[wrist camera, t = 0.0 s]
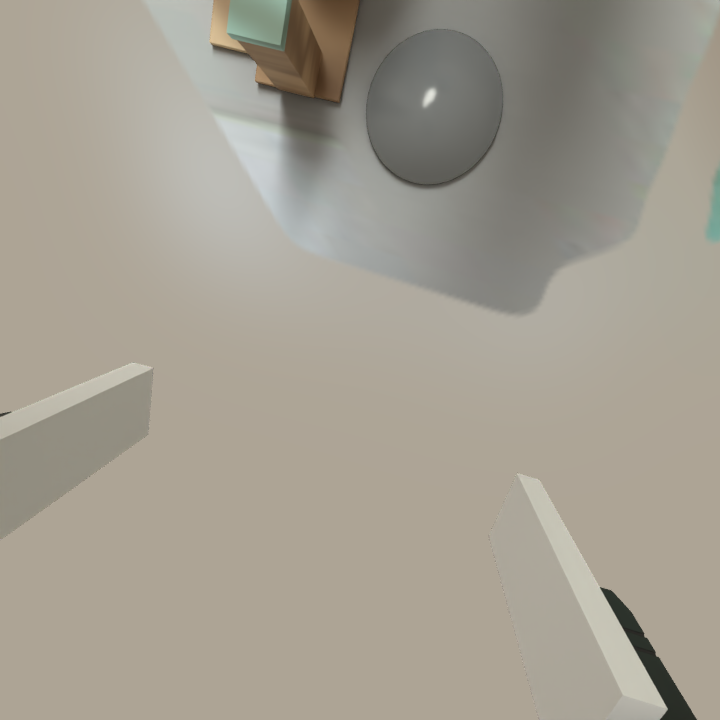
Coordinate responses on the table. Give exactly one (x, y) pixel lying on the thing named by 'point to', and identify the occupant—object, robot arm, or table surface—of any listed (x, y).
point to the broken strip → (222, 27)
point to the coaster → (434, 106)
